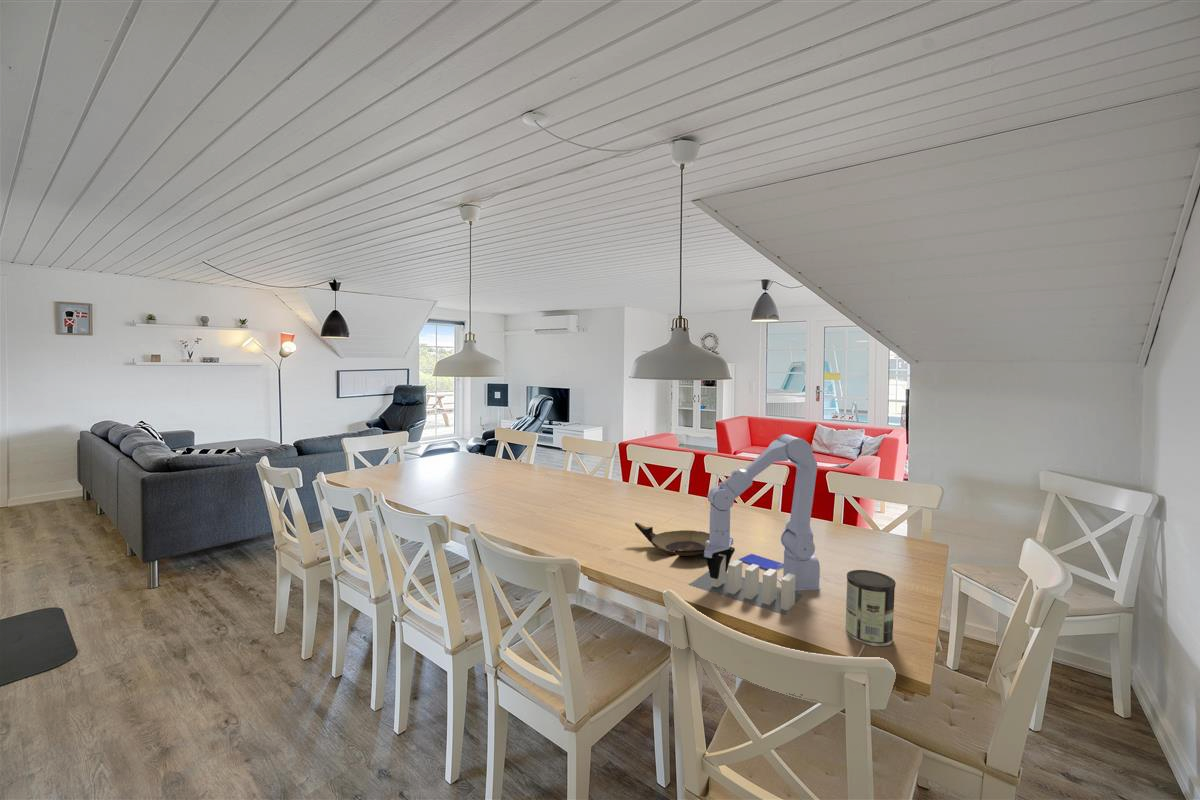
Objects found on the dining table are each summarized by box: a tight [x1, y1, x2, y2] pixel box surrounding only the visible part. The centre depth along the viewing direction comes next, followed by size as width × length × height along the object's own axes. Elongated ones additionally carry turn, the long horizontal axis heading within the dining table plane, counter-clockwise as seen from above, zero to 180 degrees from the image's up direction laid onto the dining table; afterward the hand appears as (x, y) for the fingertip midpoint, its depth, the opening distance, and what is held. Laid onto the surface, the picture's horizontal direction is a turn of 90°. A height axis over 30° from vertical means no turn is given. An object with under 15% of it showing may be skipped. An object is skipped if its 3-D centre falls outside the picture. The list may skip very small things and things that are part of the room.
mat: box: [688, 570, 804, 615], centre depth 147 cm, size 28×15×1 cm, turn 51°
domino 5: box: [780, 573, 796, 612], centre depth 137 cm, size 2×5×8 cm, turn 141°
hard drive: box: [738, 553, 784, 572], centre depth 166 cm, size 2×8×12 cm
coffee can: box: [845, 569, 896, 647], centre depth 123 cm, size 10×10×14 cm
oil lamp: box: [634, 522, 710, 557], centre depth 178 cm, size 22×30×8 cm
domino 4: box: [762, 569, 778, 605], centre depth 140 cm, size 2×5×8 cm, turn 141°
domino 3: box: [744, 564, 760, 600], centre depth 143 cm, size 2×5×8 cm, turn 141°
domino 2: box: [727, 559, 743, 594], centre depth 146 cm, size 2×5×8 cm, turn 141°
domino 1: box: [711, 554, 727, 588], centre depth 149 cm, size 2×5×8 cm, turn 141°
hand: (718, 574), depth 149 cm, fingers open, 5 cm apart
